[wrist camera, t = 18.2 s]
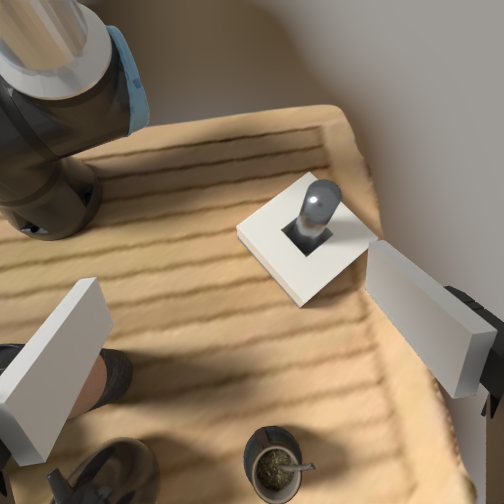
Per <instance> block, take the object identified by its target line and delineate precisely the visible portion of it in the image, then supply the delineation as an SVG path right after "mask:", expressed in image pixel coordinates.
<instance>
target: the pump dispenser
mask: <svg viewBox="0 0 504 504" xmlns="http://www.w3.org/2000/svg"><path fill="white" fill-rule="evenodd" d="M46 480H47V482H48V485H49V487H50V489H51V492H52V494H53V497H52V499H51V501H50V503H49V504H156V503H157V500H158V496H159V492H160V471H159V466H158V463H157V460H156V458H155V456H154V454H153V453H152V451H151V450H150V449H149V448H148V447H147V446H146V445H145V444H143V443H142V442H140V441H138V440H136V439H133V438H129V437H118V438H113V439H110V440H107V441H105V442H103V443H101V444H100V445H98V446H97V447H95V448H94V449H92V450H91V451H90V452H89V453H88V454H86V455H85V456H84V457H83V458H82V459H81V460H80V461H79V462H78V463H77V464H76V465H75V466H74V467H73V469H72V470H71V471H70V472H69V473H68V475H67V476H66V477H64V475H63V474H62V473H61V471H60V470H59V469H58V468H55V469H53V470H51V471H50V472H49V473H48V474H47V476H46Z"/></svg>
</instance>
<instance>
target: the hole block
mask: <svg viewBox="0 0 504 504" xmlns="http://www.w3.org/2000/svg"><path fill="white" fill-rule="evenodd" d="M317 180H318V179H317V178H316V177H315V176H314V175H313V174H311V173H310V172H308V173H306V174H305V175H304V176H302V177H301V178H300V179H298V180H297V181H296V182H294V183H293V184H292V185H290V186H289V187H288V188H287V189H285V190H284V191H283V192H281V193H280V194H279V195H277V196H276V197H275V198H273V199H272V200H271V201H269V202H268V203H267V204H265V205H264V206H263V207H261V208H260V209H259V210H257V211H256V212H255V213H253V214H252V215H251V216H249V217H248V218H247V219H245V220H244V221H243V222H241V223H240V224H239V225H237V226H236V227H237V235H238V239H239V240H240V241H241V243H242V244H243V245H244V246H245V247H246V248H247V249H248V251H249V252H250V253H251V254H252V255H253V256H254V257H255V259H256V260H257V261H258V262H259V263H260V264H261V265H262V267H263V268H264V269H265V270H266V271H267V272H268V273H269V274H270V276H271V277H272V278H273V279H274V280H275V281H276V282H277V284H278V285H279V286H280V287H281V288H282V289H283V290H284V292H285V293H286V294H287V295H288V296H289V297H290V298H291V300H292V301H293V302H294V303H295V304H296V305H297V306H298V308H300V307H302V306H303V305H304V304H305V303H306V302H307V301H308V300H310V299H311V298H312V297H313V296H314V295H315V294H316V293H318V292H319V291H320V290H321V289H322V288H323V287H324V286H326V285H327V284H328V283H329V282H330V281H331V280H332V279H334V278H335V277H336V276H337V275H338V274H339V273H340V272H342V271H343V270H344V269H345V268H346V267H347V266H348V265H350V264H351V263H352V262H353V261H354V260H355V259H356V258H358V257H359V256H360V255H361V254H362V253H363V252H364V251H366V250H367V249H368V248H369V242H372V241H376V240H378V239H379V238H378V237H377V236H376V235H375V234H374V233H373V232H372V231H371V230H370V229H369V228H368V227H367V226H366V225H365V224H364V223H363V222H362V221H361V220H359V219H358V218H357V217H356V216H355V215H354V214H353V213H352V212H351V211H350V210H349V209H348V208H347V207H346V206H345V205H344V204H343V203H342V202H340V204H339V205H338V207H337V209H336V210H335V212H334V214H333V216H332V217H331V219H330V221H329V223H328V224H327V226H326V228H325V229H324V231H323V233H322V235H321V236H320V238H319V240H318V242H317V243H316V245H315V247H314V249H313V250H312V251H311V252H309V253H306V254H303V253H302V252H301V251H300V250H299V249H298V248H297V247H296V246H295V245H294V244H293V243H292V241H291V237H292V234H293V231H294V228H295V225H296V222H297V219H298V216H299V213H300V210H301V207H302V204H303V201H304V198H305V195H306V192H307V189H308V187H309V185H310V184H311V183H313V182H314V181H317Z"/></svg>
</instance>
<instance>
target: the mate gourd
mask: <svg viewBox="0 0 504 504" xmlns="http://www.w3.org/2000/svg"><path fill="white" fill-rule="evenodd" d="M244 469H245V472H246V476H247V477H248V479H249V481H250V483H251V484H252V486H253V487H254V490H255V492H256V493H257V495H258V496H259V497H260V498H261V499H262V500H263V501H265V502H266V503H269V504H285V503H287V502H288V501H290V500H291V499H292V498H293V497H294V496H295V495H296V493H297V492H298V490H299V488H300V485H301V480H302V470H303V471H304V470H308V469H315V466H314V464H313V463H310V464H302V454H301V451H300V448H299V445H298V443H297V441H296V440H295V438H294V437H293V436H292V434H290V433H289V432H288V431H286V430H285V429H283V428H280V427H277V426H267V427H262V428H260V429H258V430H257V431H255V433H254V434H253V435H252V436H251V438H250V439H249V441H248V442H247V445H246V448H245V451H244Z"/></svg>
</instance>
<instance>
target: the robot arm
mask: <svg viewBox="0 0 504 504" xmlns="http://www.w3.org/2000/svg"><path fill="white" fill-rule="evenodd" d="M148 122H149V108H148V103H147V99H146V95H145V92H144V89H143V86H142V84H141V82H140V77H139V74H138V70H137V68H136V65H135V62H134V59H133V57H132V54H131V52H130V50H129V47H128V45H127V43H126V41H125V39H124V37H123V35H122V34H121V32H120V31H119V29H117V28H116V27H114V26H106V25H104V24H103V23H102V21H101V20H100V19H99V18H98V16H97V15H96V14H95V13H93V12H92V11H91V10H90V9H88V8H87V7H85V6H84V5H81V4H79V3H77V1H76V0H0V211H1V213H2V214H3V215H4V217H5V218H6V219H7V220H8V222H9V223H10V224H11V225H12V226H13V227H14V228H16V229H17V230H19V231H20V232H22V233H24V234H26V235H28V236H30V237H32V238H35V239H39V240H57V239H62V238H65V237H68V236H70V235H72V234H74V233H76V232H78V231H79V230H81V229H82V228H83V227H85V226H86V225H87V224H88V223H89V222H90V221H91V219H92V218H93V217H94V215H95V214H96V212H97V210H98V208H99V206H100V202H101V197H102V190H101V185H100V182H99V180H98V178H97V177H96V175H95V174H94V173H93V172H92V171H91V169H90V168H89V167H88V166H87V165H85V164H84V163H83V162H81V161H80V160H78V159H76V158H74V157H72V155H74V154H77V153H80V152H82V151H85V150H88V149H91V148H94V147H97V146H100V145H102V144H105V143H108V142H111V141H114V140H117V139H120V138H122V137H128V136H129V135H130V134H131V133H133V132H136V131H138V130H140V129H142V128H144V127H145V126H146V125H147V124H148ZM365 290H366V291H367V292H368V294H369V295H370V296H371V297H372V299H373V300H374V301H375V302H376V304H377V305H378V306H379V307H380V309H381V310H382V311H383V312H384V314H385V315H386V316H387V317H388V319H389V320H390V321H391V322H392V323H393V325H394V326H395V327H396V328H397V330H398V331H399V332H400V333H401V335H402V336H403V337H404V338H405V340H406V341H407V342H408V343H409V345H410V346H411V347H412V348H413V350H414V351H415V352H416V353H417V355H418V356H419V357H420V358H421V360H422V361H423V362H424V363H425V365H426V366H427V367H428V368H429V370H430V371H431V372H432V373H433V375H434V376H435V377H436V378H437V380H438V381H439V382H440V383H441V384H442V386H443V387H444V388H445V389H446V391H447V392H448V393H449V394H450V396H451V397H452V398H453V399H455V398H462V397H468V396H475V395H476V392H477V388H478V386H479V383H481V384H482V385H483V386H484V387H485V388H486V389H487V390H488V391H489V394H488V397H487V400H486V402H485V405H484V408H483V410H482V413H481V415H482V416H485V415H486V419H487V420H486V504H504V322H502V321H501V320H500V319H499V318H497V317H496V316H495V315H493V314H492V313H491V312H489V311H488V310H486V309H484V307H483V306H481V305H480V304H479V303H477V302H475V300H473V299H472V298H471V297H469V296H468V295H467V294H465V293H464V292H462V291H460V290H457V289H455V288H453V287H451V286H445V287H443V286H441V285H440V284H439V283H437V282H436V281H435V280H434V279H432V278H431V277H430V276H429V275H427V274H426V273H425V272H424V271H423V270H421V269H420V268H419V267H417V266H416V265H415V264H414V263H413V262H411V261H410V260H409V259H408V258H406V257H405V256H404V255H402V254H401V253H400V252H399V251H398V250H396V249H395V248H394V247H393V246H391V245H390V244H389V243H387V242H386V241H385V240H380V241H372V242H369V248H368V259H367V271H366V283H365ZM113 324H114V322H113V320H112V317H111V314H110V312H109V309H108V307H107V304H106V301H105V299H104V296H103V293H102V291H101V288H100V286H99V283H98V280H97V278H96V277H94V278H86V279H80V280H79V281H78V282H77V283H76V284H75V286H74V287H73V288H72V289H71V291H70V292H69V293H68V294H67V295H66V297H65V298H64V299H63V300H62V301H61V303H60V304H59V305H58V306H57V308H56V309H55V310H54V311H53V312H52V314H51V315H50V316H49V317H48V318H47V320H46V321H45V322H44V323H43V325H42V326H41V327H40V328H39V329H38V331H37V332H36V333H35V334H34V336H33V337H32V338H31V339H30V340H29V342H28V343H27V344H26V345H24V346H20V347H18V348H17V349H16V350H14V351H13V352H12V353H11V354H9V355H8V356H7V357H5V359H4V360H3V361H2V362H1V363H0V504H15V501H14V496H13V492H12V488H11V484H10V480H9V476H8V474H7V472H6V471H5V470H4V466H5V464H6V463H7V461H8V460H9V458H10V456H11V455H12V457H13V458H14V459H15V461H16V462H17V463H18V465H19V466H26V465H32V464H39V463H45V462H46V460H47V458H48V456H49V454H50V452H51V450H52V448H53V446H54V444H55V442H56V440H57V438H58V436H59V434H60V432H61V430H62V428H63V426H64V424H65V422H66V420H67V418H68V415H69V413H70V411H71V409H72V407H73V405H74V403H75V401H76V399H77V397H78V395H79V393H80V391H81V389H82V387H83V385H84V383H85V381H86V379H87V377H88V375H89V373H90V371H91V369H92V367H93V365H94V363H95V361H96V359H97V357H98V355H99V353H100V351H101V349H102V347H103V345H104V343H105V341H106V339H107V337H108V335H109V332H110V330H111V328H112V326H113Z"/></svg>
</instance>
